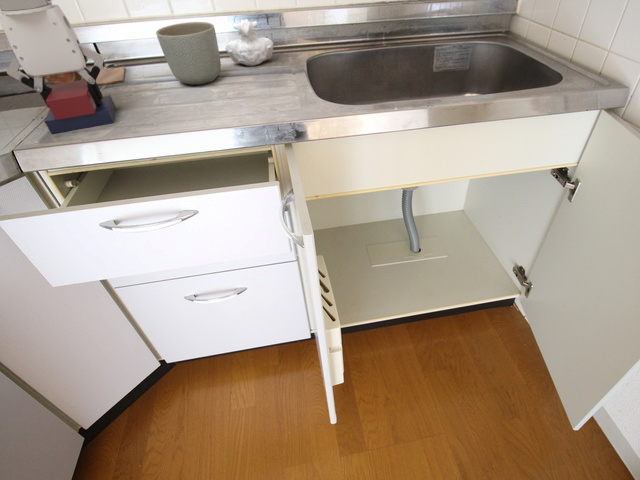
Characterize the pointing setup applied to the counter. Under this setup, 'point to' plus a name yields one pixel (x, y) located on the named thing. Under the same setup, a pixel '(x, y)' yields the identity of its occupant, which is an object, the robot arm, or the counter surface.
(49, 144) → the counter surface
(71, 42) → the robot arm
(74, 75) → the tin
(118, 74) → the pad
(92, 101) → the top book
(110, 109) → the bottom book
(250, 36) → the bust
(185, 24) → the planter
